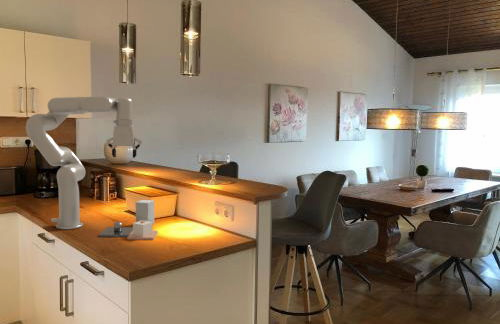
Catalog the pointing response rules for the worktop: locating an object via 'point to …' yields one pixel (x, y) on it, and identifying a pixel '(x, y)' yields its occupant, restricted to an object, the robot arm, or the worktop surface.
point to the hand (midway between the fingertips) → (124, 157)
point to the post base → (114, 234)
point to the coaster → (147, 237)
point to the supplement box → (145, 211)
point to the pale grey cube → (142, 228)
